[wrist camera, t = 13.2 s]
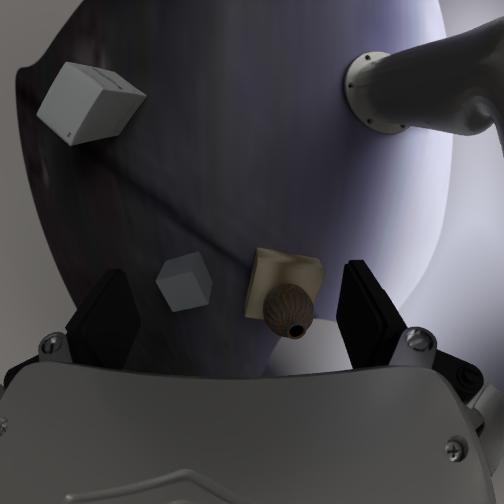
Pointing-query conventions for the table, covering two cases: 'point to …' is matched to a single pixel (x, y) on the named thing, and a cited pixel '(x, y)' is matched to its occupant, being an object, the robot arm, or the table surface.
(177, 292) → the slate block
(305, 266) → the birch block
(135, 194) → the table surface
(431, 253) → the table surface
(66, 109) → the supplement box
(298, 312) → the vase
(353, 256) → the table surface
